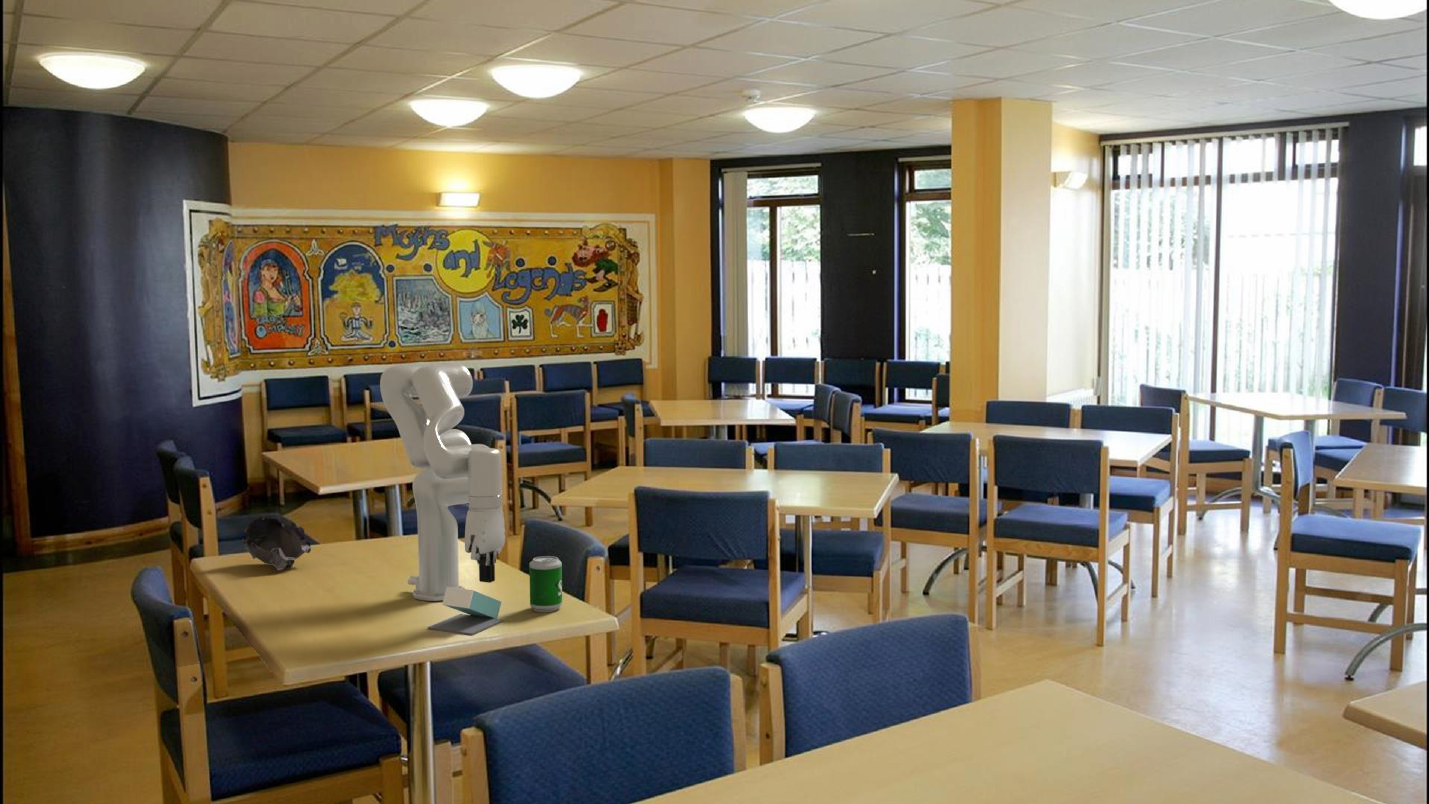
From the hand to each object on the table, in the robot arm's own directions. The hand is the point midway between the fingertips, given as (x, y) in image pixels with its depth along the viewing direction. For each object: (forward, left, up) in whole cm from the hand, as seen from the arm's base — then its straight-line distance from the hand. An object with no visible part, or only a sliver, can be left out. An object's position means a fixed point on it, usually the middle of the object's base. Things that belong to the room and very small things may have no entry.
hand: (487, 581), depth 262 cm
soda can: (+9, +11, -8) cm, 16 cm away
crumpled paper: (-83, +18, -8) cm, 85 cm away
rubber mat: (0, -8, -8) cm, 11 cm away
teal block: (0, 0, -6) cm, 6 cm away
